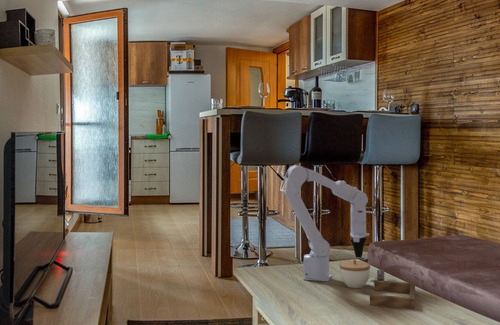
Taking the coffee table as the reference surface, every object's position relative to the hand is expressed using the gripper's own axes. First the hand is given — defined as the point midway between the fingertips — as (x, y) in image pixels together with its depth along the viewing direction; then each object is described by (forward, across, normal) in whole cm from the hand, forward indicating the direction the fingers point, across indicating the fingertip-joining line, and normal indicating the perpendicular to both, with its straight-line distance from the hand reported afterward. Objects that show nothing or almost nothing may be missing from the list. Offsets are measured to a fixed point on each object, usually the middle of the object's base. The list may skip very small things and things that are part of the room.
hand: (358, 257), depth 190 cm
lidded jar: (+8, -12, 0) cm, 14 cm away
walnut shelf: (+8, -23, -13) cm, 27 cm away
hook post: (+7, -13, -9) cm, 17 cm away
